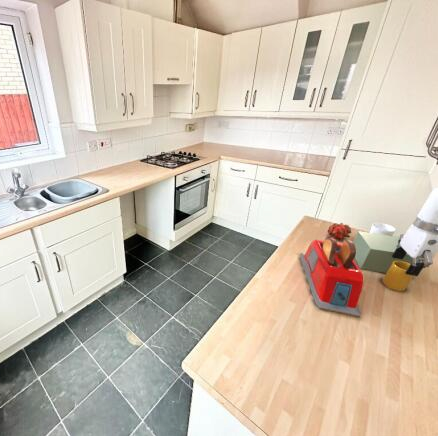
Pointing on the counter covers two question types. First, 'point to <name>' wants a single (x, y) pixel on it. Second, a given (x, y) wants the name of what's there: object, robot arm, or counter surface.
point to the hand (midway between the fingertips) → (403, 266)
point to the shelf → (377, 251)
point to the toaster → (333, 275)
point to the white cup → (382, 229)
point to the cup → (397, 276)
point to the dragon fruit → (339, 231)
